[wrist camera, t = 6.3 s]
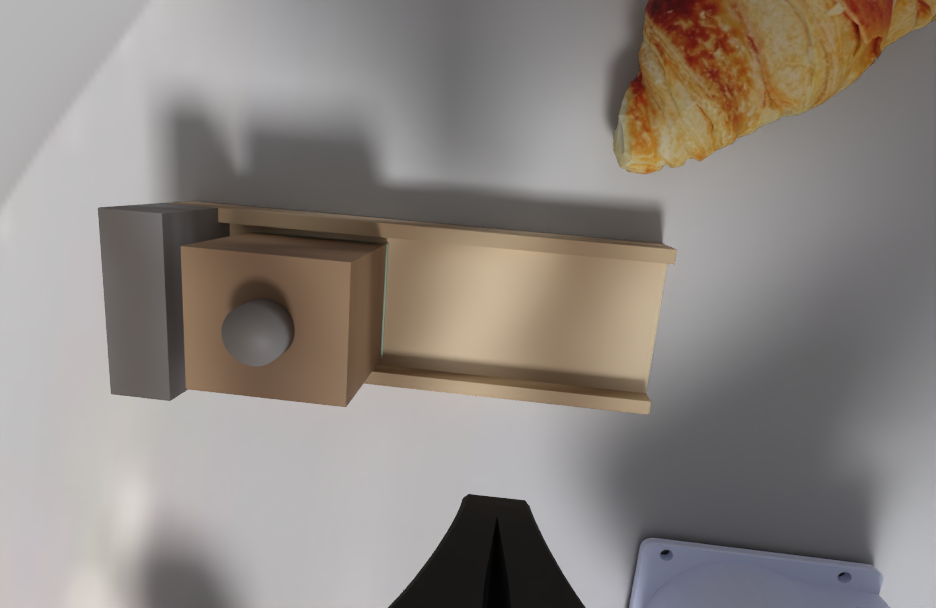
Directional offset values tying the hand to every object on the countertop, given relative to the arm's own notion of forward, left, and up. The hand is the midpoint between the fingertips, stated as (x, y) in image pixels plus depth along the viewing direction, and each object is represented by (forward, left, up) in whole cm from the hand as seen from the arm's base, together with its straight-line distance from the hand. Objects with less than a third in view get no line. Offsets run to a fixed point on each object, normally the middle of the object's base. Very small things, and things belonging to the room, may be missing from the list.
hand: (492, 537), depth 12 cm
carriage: (+7, -3, -9) cm, 12 cm away
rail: (+4, -3, -10) cm, 11 cm away
